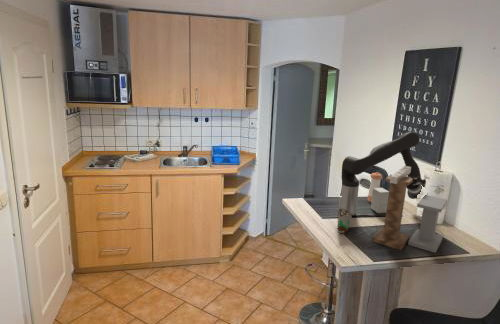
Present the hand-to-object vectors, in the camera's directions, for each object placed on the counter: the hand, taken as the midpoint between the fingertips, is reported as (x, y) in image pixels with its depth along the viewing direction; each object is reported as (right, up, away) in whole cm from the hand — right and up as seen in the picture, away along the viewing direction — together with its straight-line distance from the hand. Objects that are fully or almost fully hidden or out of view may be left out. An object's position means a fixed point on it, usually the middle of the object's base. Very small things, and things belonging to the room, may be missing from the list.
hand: (409, 176), depth 179 cm
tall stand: (-13, -31, -8) cm, 35 cm away
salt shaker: (-3, -18, +45) cm, 48 cm away
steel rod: (-11, 0, -14) cm, 18 cm away
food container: (-33, -28, +1) cm, 44 cm away
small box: (-5, -22, +29) cm, 37 cm away
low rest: (+4, -32, -8) cm, 33 cm away
